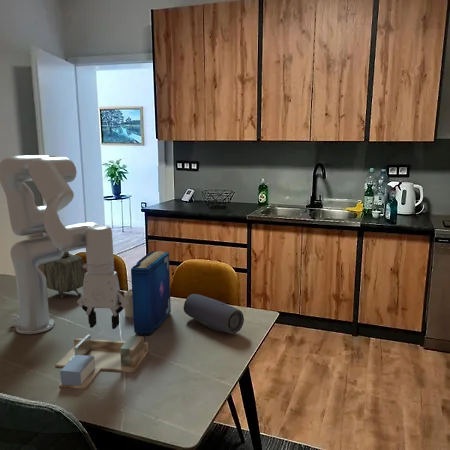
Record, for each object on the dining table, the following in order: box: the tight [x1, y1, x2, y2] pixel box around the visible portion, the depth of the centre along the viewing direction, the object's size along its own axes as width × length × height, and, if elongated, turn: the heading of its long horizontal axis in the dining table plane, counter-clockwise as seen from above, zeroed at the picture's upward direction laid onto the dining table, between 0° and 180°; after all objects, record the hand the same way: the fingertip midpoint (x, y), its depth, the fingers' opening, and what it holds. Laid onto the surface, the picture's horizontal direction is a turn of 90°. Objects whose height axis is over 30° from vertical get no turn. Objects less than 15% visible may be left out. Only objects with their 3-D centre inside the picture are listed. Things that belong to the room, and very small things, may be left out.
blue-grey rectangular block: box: [59, 355, 95, 386], centre depth 122 cm, size 6×9×4 cm, turn 172°
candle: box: [124, 288, 134, 319], centre depth 166 cm, size 6×6×10 cm
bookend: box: [68, 334, 92, 362], centre depth 133 cm, size 3×9×5 cm, turn 172°
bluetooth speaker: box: [183, 293, 245, 335], centre depth 156 cm, size 23×9×10 cm, turn 45°
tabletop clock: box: [43, 251, 86, 299], centre depth 184 cm, size 14×9×25 cm, turn 66°
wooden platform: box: [55, 335, 150, 390], centre depth 128 cm, size 24×24×6 cm
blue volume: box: [130, 250, 172, 336], centre depth 156 cm, size 22×7×25 cm, turn 168°
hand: (104, 326), depth 130 cm, fingers open, 6 cm apart
